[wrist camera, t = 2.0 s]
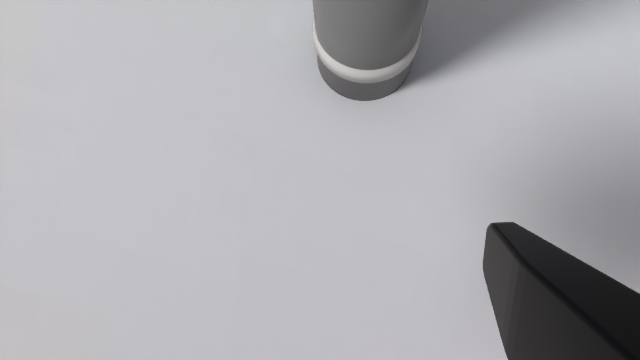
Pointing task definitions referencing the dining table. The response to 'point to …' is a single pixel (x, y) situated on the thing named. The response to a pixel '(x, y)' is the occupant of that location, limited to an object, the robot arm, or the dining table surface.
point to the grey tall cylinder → (366, 44)
